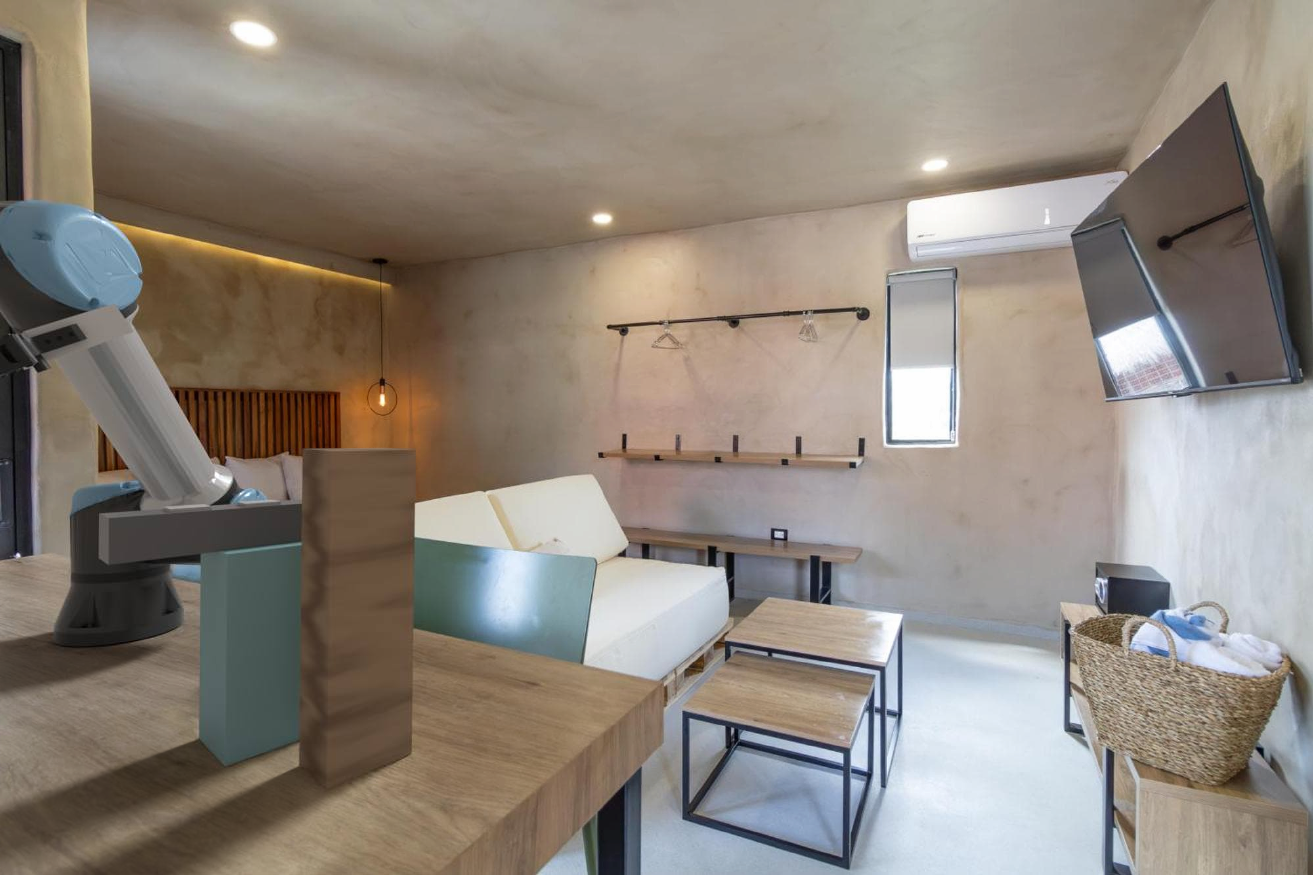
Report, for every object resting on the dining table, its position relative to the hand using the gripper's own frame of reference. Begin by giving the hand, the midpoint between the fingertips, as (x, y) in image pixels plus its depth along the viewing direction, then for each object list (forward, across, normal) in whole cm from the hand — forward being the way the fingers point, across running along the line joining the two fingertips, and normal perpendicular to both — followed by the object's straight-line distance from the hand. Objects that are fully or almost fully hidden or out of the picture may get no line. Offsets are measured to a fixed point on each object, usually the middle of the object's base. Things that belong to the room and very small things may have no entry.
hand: (107, 325), depth 60 cm
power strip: (-3, +8, -24) cm, 25 cm away
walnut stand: (-8, +20, -44) cm, 49 cm away
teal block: (-10, +8, -42) cm, 44 cm away
